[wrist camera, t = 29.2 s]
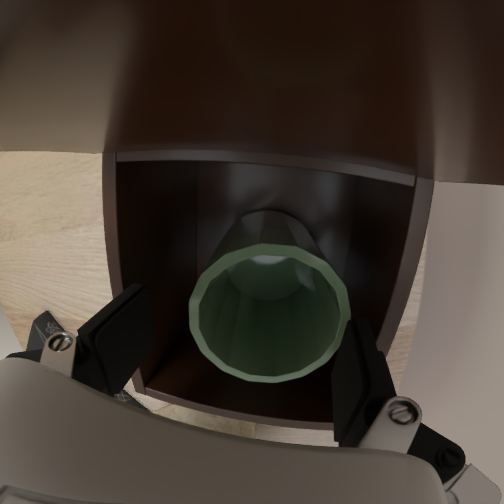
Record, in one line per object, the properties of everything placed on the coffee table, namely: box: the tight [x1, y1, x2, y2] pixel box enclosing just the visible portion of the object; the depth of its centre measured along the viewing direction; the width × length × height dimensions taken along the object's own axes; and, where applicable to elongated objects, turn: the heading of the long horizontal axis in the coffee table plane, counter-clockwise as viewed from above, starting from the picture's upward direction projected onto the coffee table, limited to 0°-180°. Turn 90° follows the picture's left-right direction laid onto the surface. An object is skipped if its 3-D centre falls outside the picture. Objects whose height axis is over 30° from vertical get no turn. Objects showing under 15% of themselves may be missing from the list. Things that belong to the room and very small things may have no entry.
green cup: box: [189, 210, 351, 383], centre depth 15 cm, size 7×7×8 cm
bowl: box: [151, 404, 256, 439], centre depth 23 cm, size 15×14×10 cm
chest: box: [102, 149, 435, 431], centre depth 15 cm, size 14×13×10 cm
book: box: [26, 311, 150, 412], centre depth 31 cm, size 22×15×3 cm
